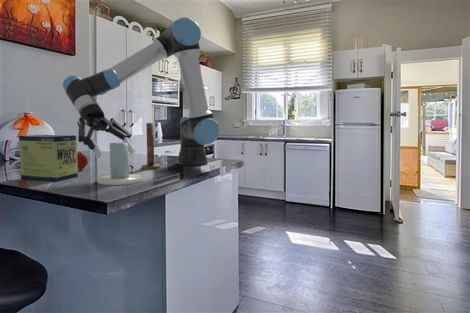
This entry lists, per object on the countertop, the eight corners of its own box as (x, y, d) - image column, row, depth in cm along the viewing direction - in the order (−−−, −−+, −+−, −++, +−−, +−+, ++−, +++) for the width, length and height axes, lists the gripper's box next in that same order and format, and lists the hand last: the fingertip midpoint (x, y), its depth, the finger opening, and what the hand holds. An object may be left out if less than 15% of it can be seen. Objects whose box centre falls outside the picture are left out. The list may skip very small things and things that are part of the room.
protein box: (57, 181, 108) (55, 136, 106) (20, 179, 112) (17, 135, 110) (79, 176, 118) (77, 135, 116) (44, 174, 122) (42, 134, 120)
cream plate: (126, 175, 121) (126, 172, 121) (151, 180, 112) (151, 177, 112) (88, 181, 109) (88, 178, 109) (112, 187, 100) (112, 183, 100)
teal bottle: (122, 175, 115) (121, 142, 113) (132, 177, 111) (131, 143, 110) (107, 177, 110) (106, 143, 109) (117, 179, 106) (115, 144, 105)
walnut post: (152, 166, 147) (151, 123, 145) (163, 167, 142) (163, 123, 140) (137, 168, 140) (136, 123, 138) (149, 170, 136) (148, 123, 133)
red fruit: (81, 168, 137) (80, 150, 136) (91, 169, 135) (90, 150, 134) (69, 170, 132) (68, 151, 131) (80, 171, 130) (79, 152, 129)
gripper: (114, 118, 128) (140, 157, 122) (51, 117, 107) (79, 165, 101) (122, 104, 124) (150, 144, 118) (59, 101, 103) (88, 149, 97)
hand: (117, 154), depth 109 cm, fingers open, 13 cm apart
